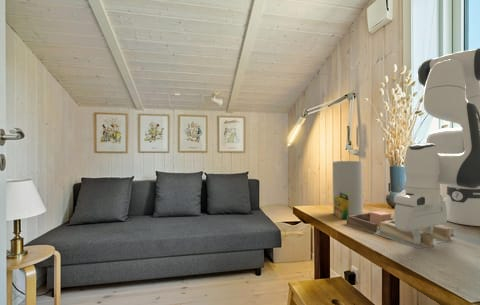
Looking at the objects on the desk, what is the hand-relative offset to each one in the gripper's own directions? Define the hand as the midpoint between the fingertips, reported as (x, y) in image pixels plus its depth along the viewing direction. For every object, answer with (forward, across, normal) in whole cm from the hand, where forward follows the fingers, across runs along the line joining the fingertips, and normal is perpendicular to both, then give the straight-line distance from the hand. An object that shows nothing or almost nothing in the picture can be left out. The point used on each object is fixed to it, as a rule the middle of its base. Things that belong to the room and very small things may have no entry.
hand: (422, 241), depth 79 cm
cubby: (+1, -3, -20) cm, 20 cm away
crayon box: (+3, -2, -34) cm, 34 cm away
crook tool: (+1, -3, -6) cm, 6 cm away
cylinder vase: (+3, -11, -39) cm, 41 cm away
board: (+2, -5, -12) cm, 14 cm away
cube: (+1, -5, -18) cm, 19 cm away
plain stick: (+1, -11, -4) cm, 12 cm away
